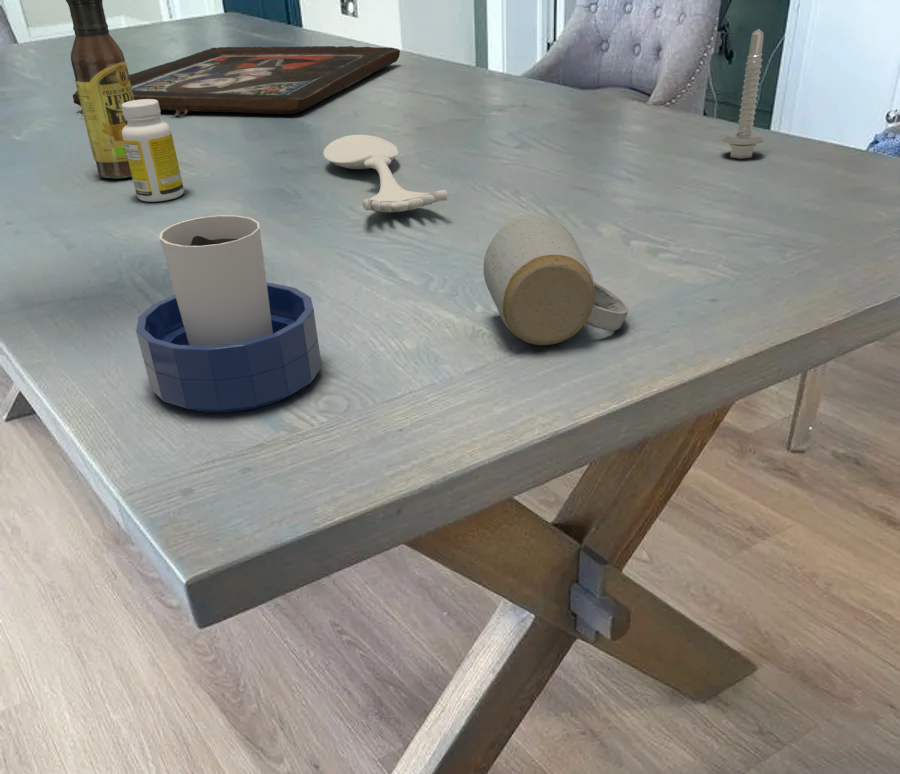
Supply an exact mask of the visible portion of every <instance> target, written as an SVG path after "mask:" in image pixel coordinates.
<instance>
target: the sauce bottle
mask: <svg viewBox="0 0 900 774" xmlns="http://www.w3.org/2000/svg"><path fill="white" fill-rule="evenodd" d="M65 2H66V4H67V6H68V9H69V13H70V18H71V20H72V25H73V26H72V29H73V32H74V35H75V37H74V40H73V44H72V48H71V51H70V63H71V66H72V70H73V74H74V82H75V87H76V91H78V95H79V99H80V103H81V111H82V115H83V116H82V117H83V120H84V124H85V127H86V128H85V129H86V132H87V137H88V141H89V145H90V149H91V152H92V157H93V160H94V161H95V164H96V170H97V173H98V175H99V177H101V178H103V179H104V178H105V179H127V178H132V174H131V170H130V166H129V162H128V158H127V154H126V150H125V146H124V142H123V137H122V130H123V128H124V127H125V126H126V125H127V124H128V122H127V120H126V119H125V118H124V115H123V111H122V106H121V105H122V104H123V103H125V102H128V101H133V100H134V97H133V92H132V88H131V83H130V78H129V75H130V73H129V69H128V63H127V62H126V58H125V55H124V52H123V49H121V47H120V46H119V44H118V43H117V42H116V41H115V40H114V38H113V37H112V36H111V35H110V30H109V26H108V23H107V19H106V15H105V10H104V6H103V5H104V4H103V0H65Z"/></svg>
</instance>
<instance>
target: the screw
mask: <svg viewBox="0 0 900 774" xmlns="http://www.w3.org/2000/svg"><path fill="white" fill-rule="evenodd" d="M764 34H765V33H764V31H762V30H761V29H760V28H758V29H756V30H754V31H753V32H752V34H751V37H750V45H749V53H748V56H746V58H747V61H746V62H745V65H746V66H745V69H744V71H745V73H744V75H743V76H744V80H743V81H742V82H743V86H742V92H741V95H742V97H741V98H740V100H741V103H740V104H739V105H740V109H739V112H740V114H739V115H738V117H739V119H738V120H737V123H738V125H737V129H735V130H730V131H726V133H725V134H723V135H722V138H721V140H722V142H724V143H726V144H728V146H729V147H730V148H731V150H730V156H729V157H730V158H733V159H737V160H744V159H745V160H746V159H751V158H753V153H754V148H755V147H757V146H758V144H759V145H760V144H762V143H764V142H765V141H766V136H765V135H764V133H763V132H761V131H758V130H754V128H753V126H754V125H755V123H754V120H756V117H754V116H755V115H756V111H755V110H756V109H757V105H756V103H758V100H757V98H758V97H759V95H758V94H757V93H758V92H759V90H760V89H759V88H758V87H759V86H760V84H761V83H759V80H761V77H760V74H761V73H762V71H761V69H762V68H763V65H762V62H763V58H762V56H763V55H764V54H763V53H762V52H763V43H764V36H765V35H764Z"/></svg>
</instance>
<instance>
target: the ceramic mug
mask: <svg viewBox="0 0 900 774" xmlns="http://www.w3.org/2000/svg"><path fill="white" fill-rule="evenodd" d="M483 277H484V282H485V285H486V288H487V291H488V292H489V294H490V297H491V299H492V301H493V302H494V305H495V307H496V309H497V311H498V314H499V316H500V318H501V320H502V322H503V324H504V325H505V327H507V329H508V330H509V331H510V332H511V333H512V334H513V335H514V336H515V337H517V338H518V339H520V340H522V341H523V342H525V343H526V344H527V343H528V344H532V345H535V346H552V345H556V344H560V343H563V342H566V341H567V340H569V339H570V338H572V337H574V336H576V334H577V333H578V332H580V330H581V329H583V327H584V326H585V325H588V326H591V327H593V328H596V329H599V330H600V329H601V330H604V331H608V332H609V331H613V332H614V331H617V330H619V329H620V328H621V327H622V326H623V324H624V322H625V319H626V317H627V316H628V314H629V308H628V305H627V304H626V303H625V302H624V301H623V300H622V298H620V296H618V295H617V294H615V292H613V291H611V290H610V289H608V288H606V287H605V286H603V285H602V284H599V283H598V282H596V281H595V280H594V278H593V273H592V272H591V269H590V267H589V265H588V263H587V261H586V260H585V258H584V256H583V254H582V252H581V249H580V247H579V245H578V243H577V241H576V240H575V238H574V236H573V234H572V233H571V232H570V231H569V229H568V228H566V227H565V226H564V225H563V223H561V222H559V221H558V220H556V219H553V218H551V217H549V216H546V215H540V214H529V215H524V216H520V217H518V218H517V217H516V218H515V219H512V220H511V221H509V222H507V223H505V224H504V225H503V226H502V227H501V228H500V229H499V230H497V232H496V233H495V235H494V236H493V237H492V239H491V241H490V242H489V244H488V246H487V249H486V250H485V254H484V257H483Z"/></svg>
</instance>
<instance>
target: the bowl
mask: <svg viewBox="0 0 900 774" xmlns="http://www.w3.org/2000/svg"><path fill="white" fill-rule="evenodd" d="M267 290H268V298H269V306H270V314H271V322H272V330H273V334H270V335H267V336H263V337H260V338H256V339H253V340H249V341H246V342H240V343H232V344H224V345H216V346H193V345H189V342H188V339H187V335H186V332H185V328H184V325H183V321H182V318H181V314H180V310H179V307H178V303H177V300H176V296H175V294H173V295H171V296H169V297H167V298H164V299H162V300H160V301H158V302H155V303H153V304H151V305H150V306H149V307H148V308H146V310H145V311H143V312H142V313H141V314H140V315H139V316H138V317H137V322H136V328H135V332H136V337H137V341H138V344H139V349H140V352H141V356H142V359H143V363H144V367H145V370H146V371H145V372H146V374H147V379H148V381H149V386H150V390H152V391H153V393H155V395H156V396H158V398H160V399H161V401H163V402H164V403H168V404H171V405H174V406H178V407H180V408H184V409H187V410H192V411H198V412H204V413H235V412H243V411H247V410H249V411H250V410H255V409H259V408H262V407H265V406H269V405H272V404H275V403H277V402H280V401H282V400H285V399H287V398H289V397H290V396H293V395H294V394H296V393H297V392H299V390H301V389H303V388H304V387H306V386H308V385H309V384H311V383H312V382H313V381H314V379H315V378H316V377H317V375H318V373H319V372H320V371H321V370H322V367H323V366H322V358H321V352H320V344H319V339H318V337H319V336H318V330H317V324H316V323H317V322H316V315H315V309H314V305H313V301H312V297H311V296H309V295H308V294H306V293H305V292H303V291H301V290H300V289H299V288H296V287H293V286H289V285H284V284H279V283H274V282H267Z"/></svg>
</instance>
